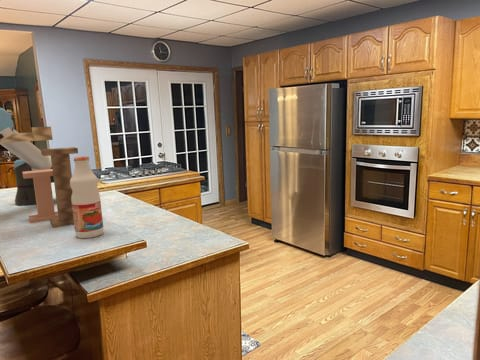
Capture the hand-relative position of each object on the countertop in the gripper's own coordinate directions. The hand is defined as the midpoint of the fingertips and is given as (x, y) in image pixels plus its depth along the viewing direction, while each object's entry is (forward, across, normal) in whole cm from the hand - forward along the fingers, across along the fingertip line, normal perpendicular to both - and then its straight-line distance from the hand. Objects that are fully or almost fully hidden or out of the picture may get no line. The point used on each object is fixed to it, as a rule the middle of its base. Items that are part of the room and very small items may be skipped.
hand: (11, 130), depth 133 cm
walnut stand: (-6, 0, -40) cm, 41 cm away
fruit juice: (-3, +23, -43) cm, 49 cm away
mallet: (0, 0, -5) cm, 5 cm away
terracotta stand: (-12, -14, -37) cm, 41 cm away
